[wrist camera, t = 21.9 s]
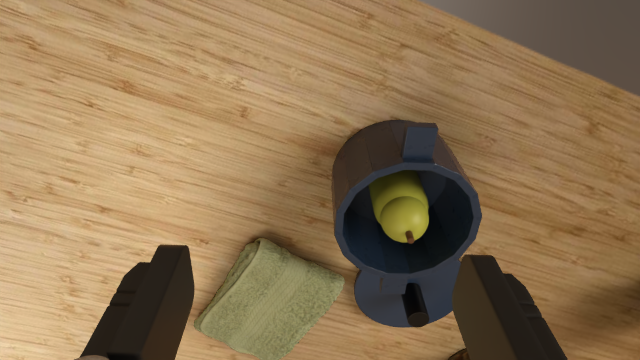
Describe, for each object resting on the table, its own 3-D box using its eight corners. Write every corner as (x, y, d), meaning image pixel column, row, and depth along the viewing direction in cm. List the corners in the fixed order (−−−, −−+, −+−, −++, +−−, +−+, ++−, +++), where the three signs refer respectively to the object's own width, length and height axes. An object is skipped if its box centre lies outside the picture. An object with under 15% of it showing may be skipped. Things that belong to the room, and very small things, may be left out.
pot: (471, 94, 39) (506, 134, 32) (435, 244, 48) (457, 300, 41) (337, 90, 39) (342, 128, 31) (327, 241, 48) (329, 298, 41)
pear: (420, 157, 42) (447, 217, 33) (412, 199, 44) (435, 264, 36) (370, 155, 42) (384, 215, 33) (365, 197, 44) (377, 263, 36)
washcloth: (191, 319, 54) (184, 340, 52) (255, 226, 47) (251, 245, 44) (280, 353, 58) (278, 375, 55) (352, 272, 50) (355, 293, 48)
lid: (475, 241, 48) (494, 276, 43) (451, 321, 55) (465, 359, 50) (358, 238, 48) (363, 273, 43) (349, 319, 55) (352, 357, 50)
